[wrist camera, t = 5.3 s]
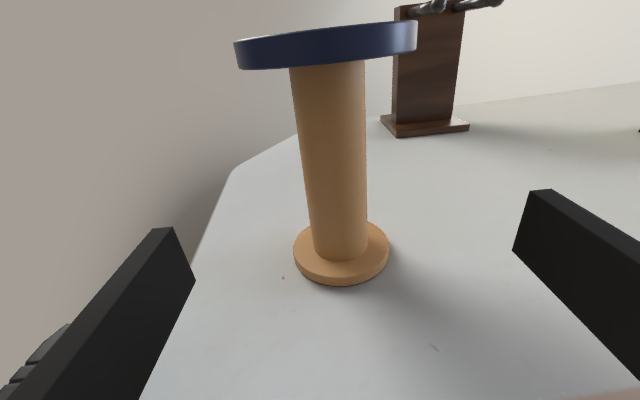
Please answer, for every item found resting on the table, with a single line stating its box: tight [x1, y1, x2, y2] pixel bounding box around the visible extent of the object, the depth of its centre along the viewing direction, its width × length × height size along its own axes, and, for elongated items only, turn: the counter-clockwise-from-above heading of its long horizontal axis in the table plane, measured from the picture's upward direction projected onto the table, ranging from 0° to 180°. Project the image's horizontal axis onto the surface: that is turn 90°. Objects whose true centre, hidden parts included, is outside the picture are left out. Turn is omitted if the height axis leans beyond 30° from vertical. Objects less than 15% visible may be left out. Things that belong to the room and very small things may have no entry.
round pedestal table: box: [233, 20, 418, 286], centre depth 18 cm, size 9×9×14 cm
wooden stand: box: [380, 0, 504, 138], centre depth 40 cm, size 17×11×17 cm, turn 2°
